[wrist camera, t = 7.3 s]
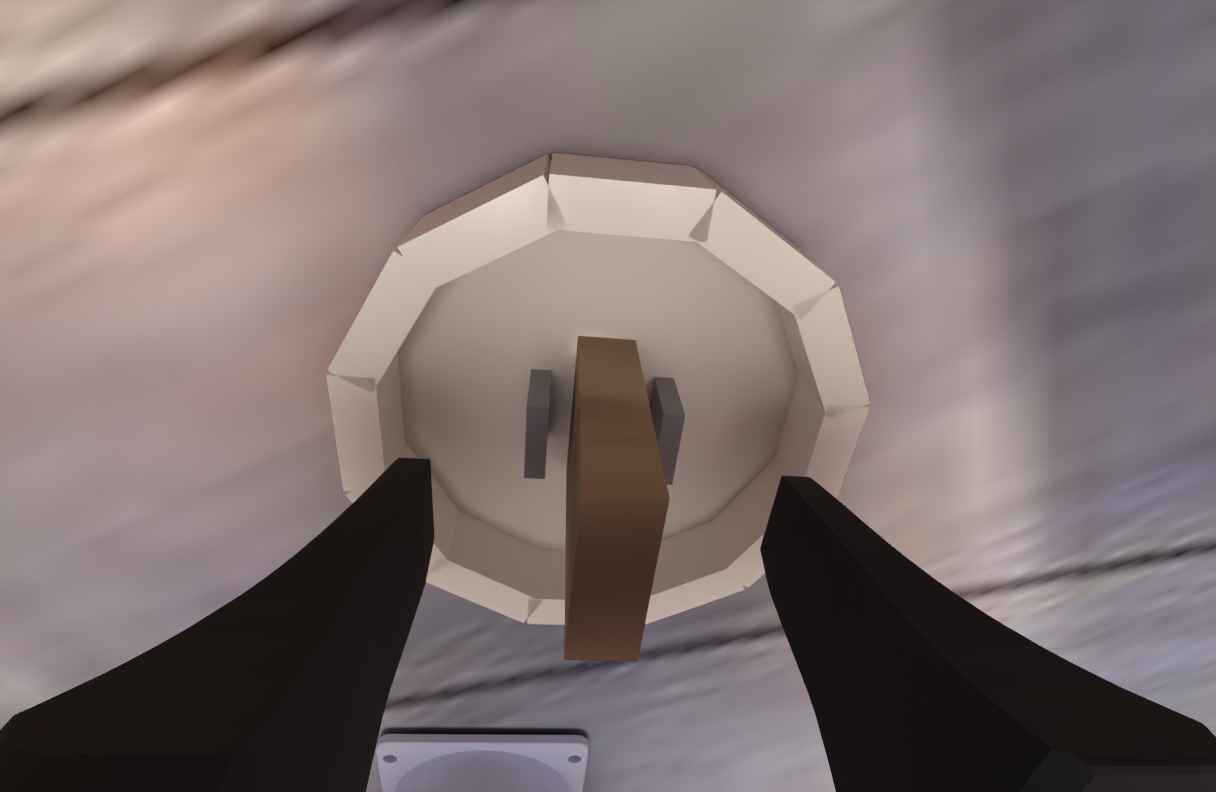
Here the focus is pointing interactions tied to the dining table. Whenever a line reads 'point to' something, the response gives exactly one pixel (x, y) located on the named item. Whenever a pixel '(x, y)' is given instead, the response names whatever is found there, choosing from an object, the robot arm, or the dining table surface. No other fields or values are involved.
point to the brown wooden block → (610, 504)
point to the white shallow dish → (545, 369)
